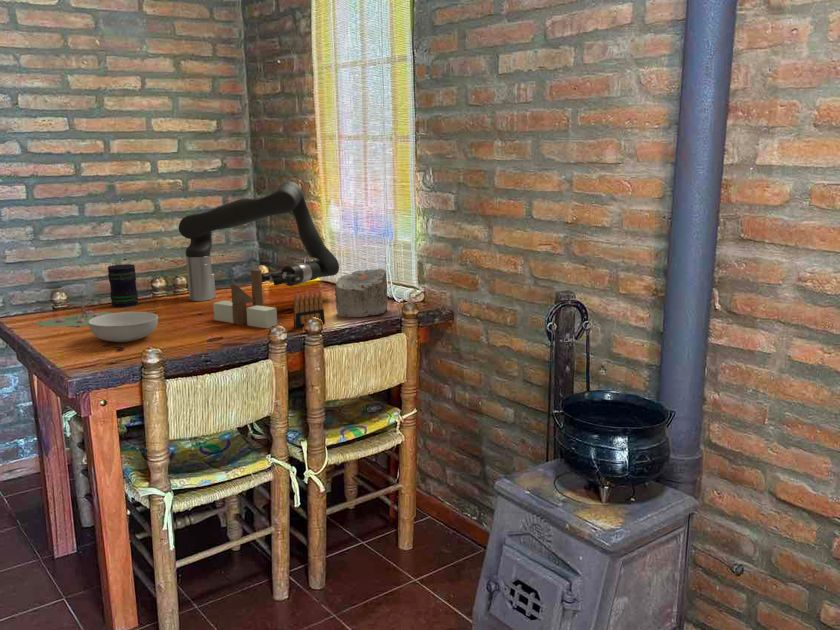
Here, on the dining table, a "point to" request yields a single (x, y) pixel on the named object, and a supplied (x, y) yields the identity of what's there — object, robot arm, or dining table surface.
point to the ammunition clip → (307, 308)
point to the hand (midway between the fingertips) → (265, 281)
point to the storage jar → (123, 285)
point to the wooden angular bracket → (246, 297)
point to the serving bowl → (123, 326)
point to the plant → (73, 318)
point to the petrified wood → (361, 293)
